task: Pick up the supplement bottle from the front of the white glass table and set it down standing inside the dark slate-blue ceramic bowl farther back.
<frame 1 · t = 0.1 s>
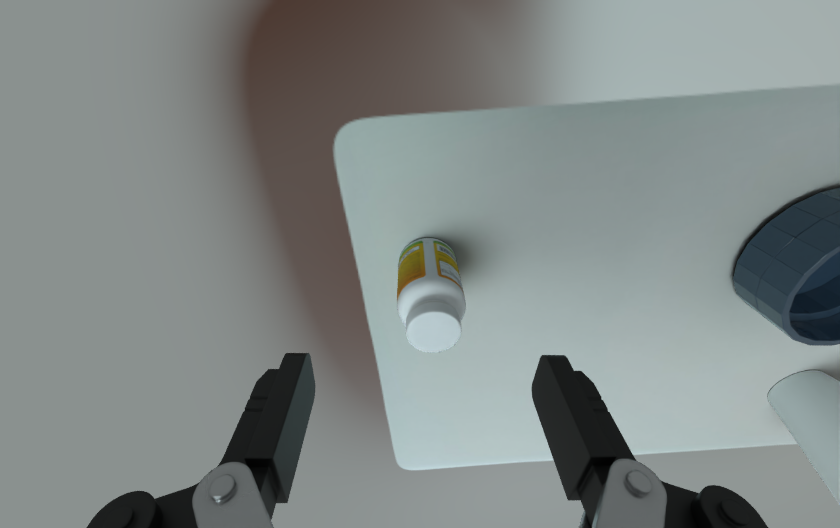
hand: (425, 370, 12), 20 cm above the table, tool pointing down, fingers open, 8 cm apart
supplement bottle: (427, 260, 34), on the table
bowl: (803, 250, 34), on the table
cup: (795, 387, 45), on the table
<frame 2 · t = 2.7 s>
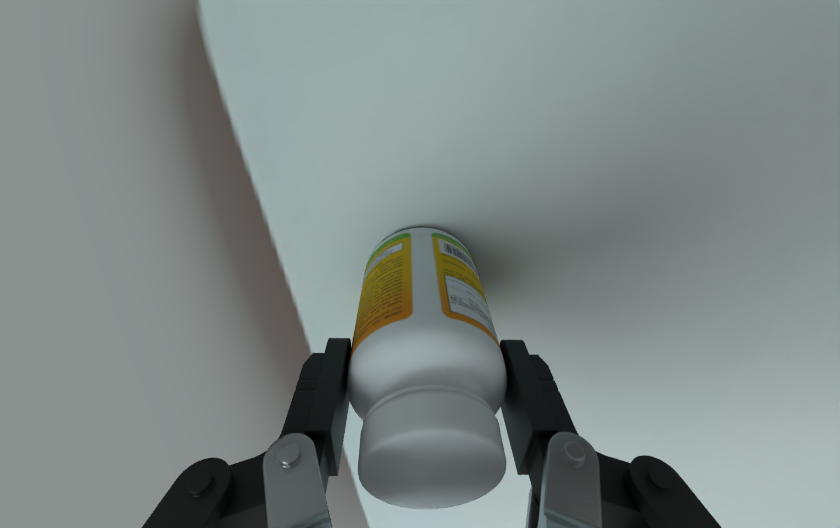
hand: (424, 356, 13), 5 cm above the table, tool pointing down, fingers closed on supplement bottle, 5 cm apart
supplement bottle: (420, 271, 18), on the table, touching gripper
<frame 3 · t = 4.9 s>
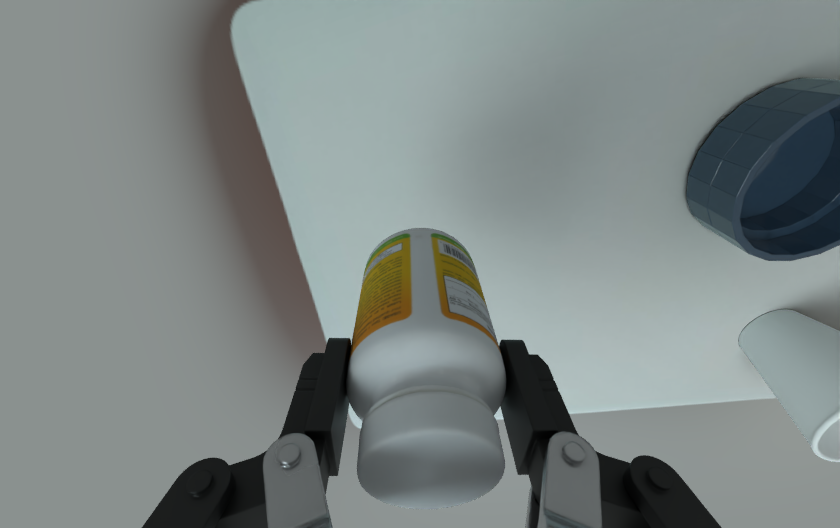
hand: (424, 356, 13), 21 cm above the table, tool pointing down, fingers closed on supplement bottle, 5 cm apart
supplement bottle: (419, 271, 18), point 16 cm above the table, touching gripper
bowl: (760, 161, 31), on the table
cup: (767, 330, 43), on the table
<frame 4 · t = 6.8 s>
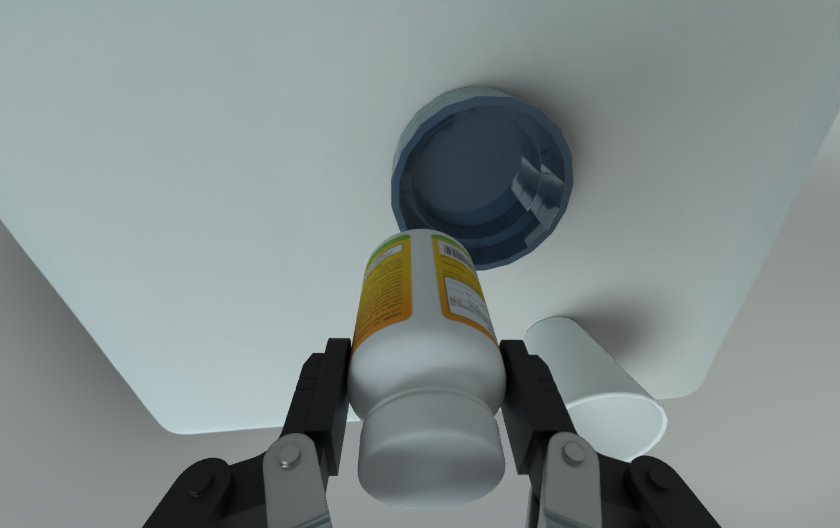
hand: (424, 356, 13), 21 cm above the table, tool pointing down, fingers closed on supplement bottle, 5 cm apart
supplement bottle: (419, 272, 18), point 16 cm above the table, touching gripper
bowl: (469, 170, 31), on the table
cup: (551, 337, 42), on the table
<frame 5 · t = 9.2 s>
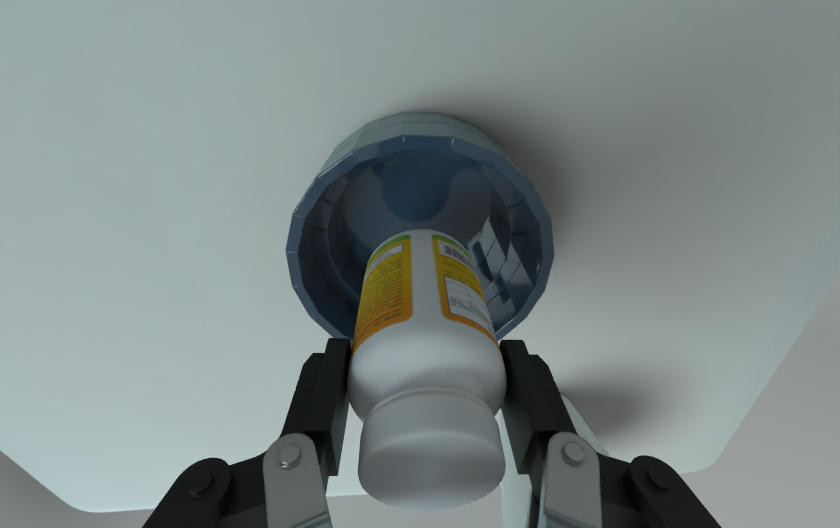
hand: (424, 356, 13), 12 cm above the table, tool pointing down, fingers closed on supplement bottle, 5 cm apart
supplement bottle: (420, 272, 18), point 6 cm above the table, touching gripper
bowl: (418, 220, 23), on the table
cup: (535, 411, 34), on the table
when the fingers open (6 cm above the table, at t = 11.1 s): supplement bottle stays where it is, resting on bowl.
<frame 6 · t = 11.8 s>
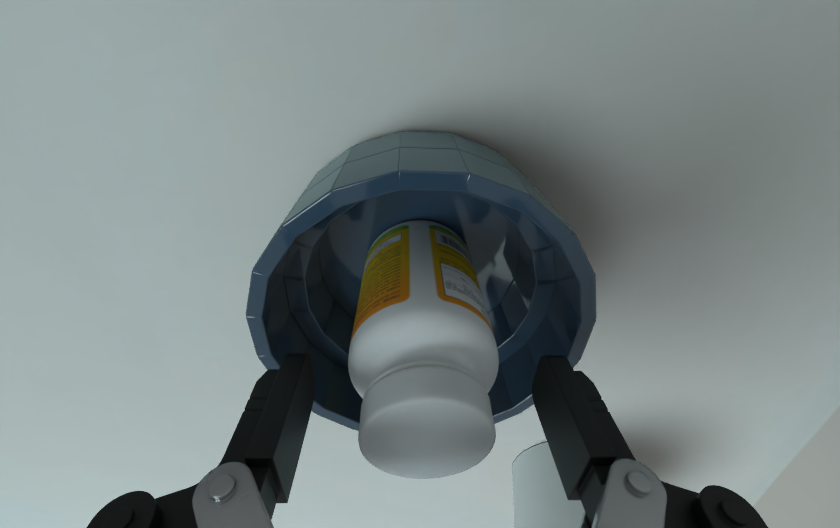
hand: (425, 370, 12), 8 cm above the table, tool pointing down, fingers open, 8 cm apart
supplement bottle: (418, 262, 19), resting on bowl
bowl: (419, 258, 19), on the table
cup: (551, 461, 30), on the table
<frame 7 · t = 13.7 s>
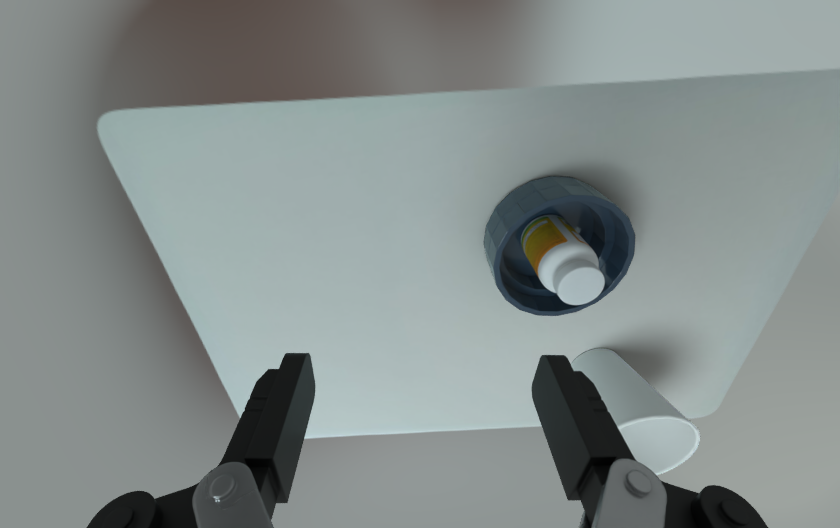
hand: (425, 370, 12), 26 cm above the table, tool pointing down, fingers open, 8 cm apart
supplement bottle: (543, 235, 39), resting on bowl
bowl: (543, 234, 39), on the table
cup: (593, 364, 50), on the table
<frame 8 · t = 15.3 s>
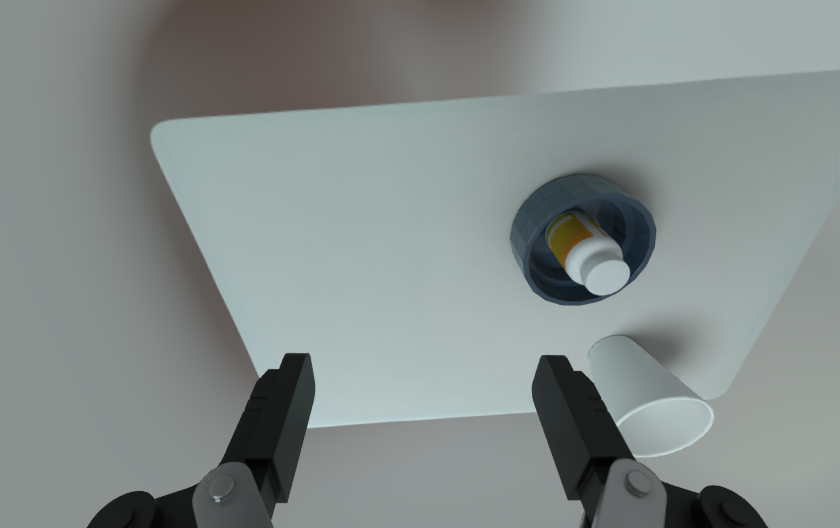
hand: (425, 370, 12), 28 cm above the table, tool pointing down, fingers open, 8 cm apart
supplement bottle: (566, 230, 41), resting on bowl
bowl: (566, 228, 41), on the table
cup: (610, 351, 53), on the table
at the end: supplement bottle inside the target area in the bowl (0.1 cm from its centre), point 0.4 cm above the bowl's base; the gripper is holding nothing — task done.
